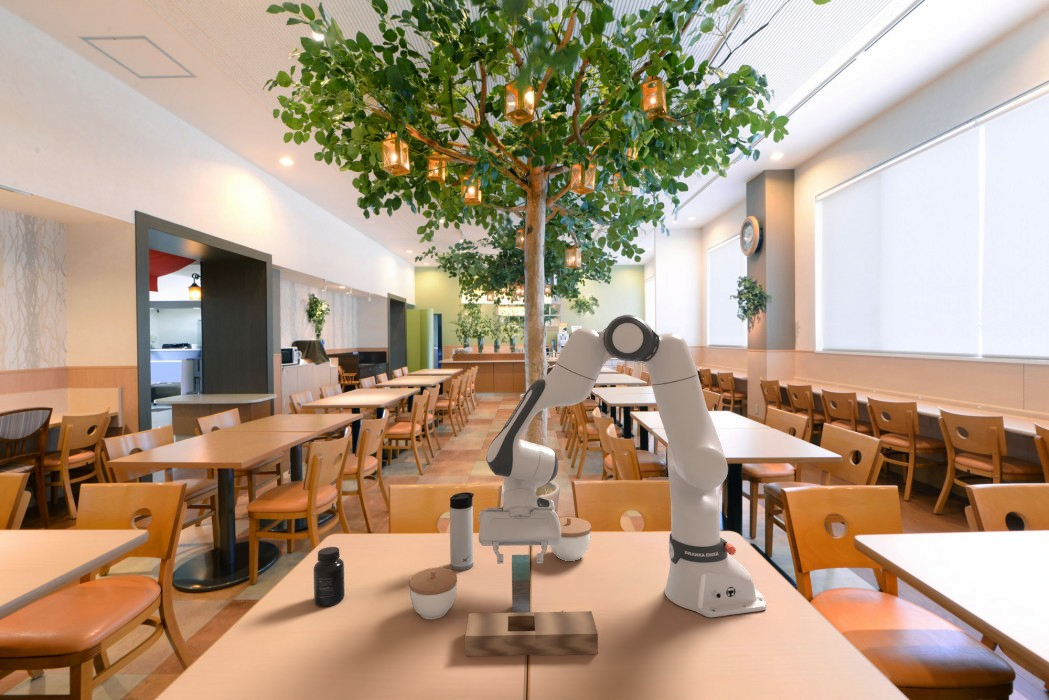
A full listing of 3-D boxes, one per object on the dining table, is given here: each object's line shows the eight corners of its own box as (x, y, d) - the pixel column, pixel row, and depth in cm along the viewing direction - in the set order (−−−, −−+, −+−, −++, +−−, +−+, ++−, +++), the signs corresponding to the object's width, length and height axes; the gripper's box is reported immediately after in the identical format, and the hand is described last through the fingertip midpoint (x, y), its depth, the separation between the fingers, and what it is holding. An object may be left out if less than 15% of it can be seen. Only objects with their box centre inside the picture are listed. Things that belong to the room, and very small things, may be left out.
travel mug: (470, 572, 131) (469, 497, 130) (447, 569, 132) (446, 496, 132) (477, 561, 137) (476, 490, 137) (455, 559, 138) (454, 489, 138)
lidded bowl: (594, 566, 133) (593, 526, 133) (548, 566, 134) (547, 526, 133) (588, 546, 146) (588, 510, 146) (546, 547, 146) (546, 510, 146)
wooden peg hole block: (591, 629, 104) (591, 611, 104) (597, 653, 96) (597, 633, 96) (469, 632, 104) (469, 613, 103) (465, 656, 96) (465, 636, 95)
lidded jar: (439, 594, 119) (439, 556, 119) (466, 612, 111) (466, 571, 111) (400, 612, 111) (400, 571, 111) (426, 631, 104) (426, 588, 104)
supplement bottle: (350, 596, 119) (350, 547, 119) (328, 610, 112) (328, 558, 112) (330, 590, 122) (329, 542, 121) (307, 604, 115) (306, 553, 115)
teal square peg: (529, 605, 114) (529, 554, 114) (530, 615, 110) (529, 562, 110) (512, 605, 114) (511, 554, 113) (512, 615, 110) (511, 562, 109)
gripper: (478, 501, 122) (475, 557, 112) (559, 501, 122) (563, 557, 113) (479, 513, 127) (476, 568, 117) (558, 512, 127) (561, 567, 117)
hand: (520, 562), depth 115 cm, fingers open, 8 cm apart
